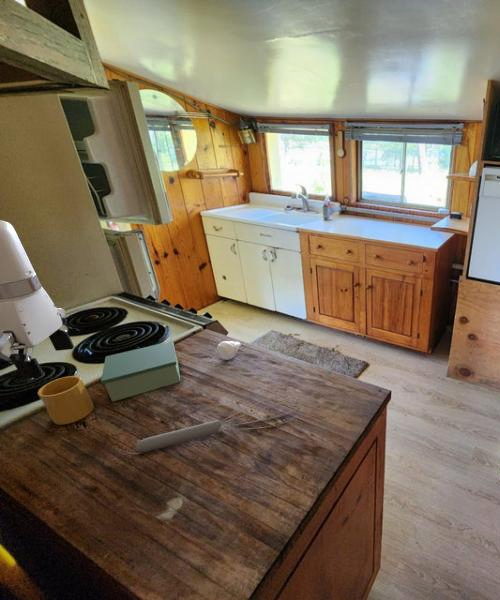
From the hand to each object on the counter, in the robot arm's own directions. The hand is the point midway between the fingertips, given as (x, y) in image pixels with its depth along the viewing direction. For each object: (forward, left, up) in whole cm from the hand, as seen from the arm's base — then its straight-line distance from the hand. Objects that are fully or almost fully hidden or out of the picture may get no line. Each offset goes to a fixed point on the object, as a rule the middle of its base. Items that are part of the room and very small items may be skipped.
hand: (50, 362), depth 68 cm
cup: (-1, 0, -14) cm, 14 cm away
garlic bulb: (+30, +18, -15) cm, 38 cm away
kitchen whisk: (+33, -14, -15) cm, 39 cm away
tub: (+10, +10, -14) cm, 20 cm away
